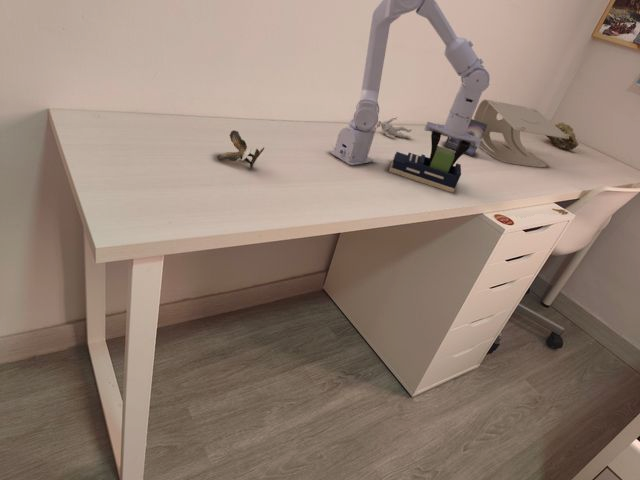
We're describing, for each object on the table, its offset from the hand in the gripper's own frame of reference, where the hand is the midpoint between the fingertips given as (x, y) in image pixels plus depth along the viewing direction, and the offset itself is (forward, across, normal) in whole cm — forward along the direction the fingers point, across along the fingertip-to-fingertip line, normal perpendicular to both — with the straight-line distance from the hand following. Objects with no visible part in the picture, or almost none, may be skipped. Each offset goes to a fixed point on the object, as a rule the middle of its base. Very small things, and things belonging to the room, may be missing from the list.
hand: (440, 163), depth 121 cm
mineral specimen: (+6, -54, -95) cm, 109 cm away
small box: (+6, -8, -38) cm, 40 cm away
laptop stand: (+6, -27, -55) cm, 62 cm away
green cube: (+1, 0, 0) cm, 1 cm away
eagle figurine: (+6, +46, +30) cm, 55 cm away
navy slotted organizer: (+5, +3, 0) cm, 6 cm away
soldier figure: (+6, +16, -30) cm, 34 cm away
